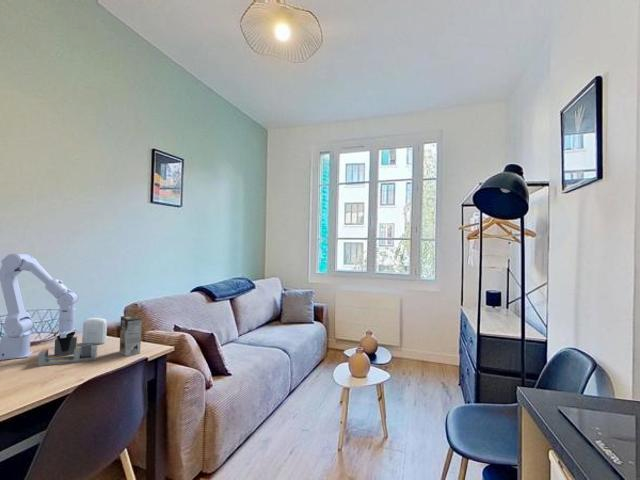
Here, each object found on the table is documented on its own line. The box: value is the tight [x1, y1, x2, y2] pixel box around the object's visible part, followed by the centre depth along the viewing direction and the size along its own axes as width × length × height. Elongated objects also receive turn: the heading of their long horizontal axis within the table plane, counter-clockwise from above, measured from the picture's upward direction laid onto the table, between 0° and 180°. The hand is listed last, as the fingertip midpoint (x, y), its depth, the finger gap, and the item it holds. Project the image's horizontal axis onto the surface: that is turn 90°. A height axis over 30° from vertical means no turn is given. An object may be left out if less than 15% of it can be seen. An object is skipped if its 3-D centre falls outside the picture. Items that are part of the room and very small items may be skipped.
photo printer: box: [81, 317, 108, 345], centre depth 163 cm, size 10×4×12 cm, turn 98°
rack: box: [37, 343, 98, 367], centre depth 138 cm, size 19×6×6 cm, turn 118°
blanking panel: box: [53, 336, 78, 357], centre depth 147 cm, size 8×2×7 cm, turn 118°
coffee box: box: [119, 314, 143, 357], centre depth 152 cm, size 9×6×16 cm
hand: (65, 350), depth 147 cm, fingers closed on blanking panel, 2 cm apart
